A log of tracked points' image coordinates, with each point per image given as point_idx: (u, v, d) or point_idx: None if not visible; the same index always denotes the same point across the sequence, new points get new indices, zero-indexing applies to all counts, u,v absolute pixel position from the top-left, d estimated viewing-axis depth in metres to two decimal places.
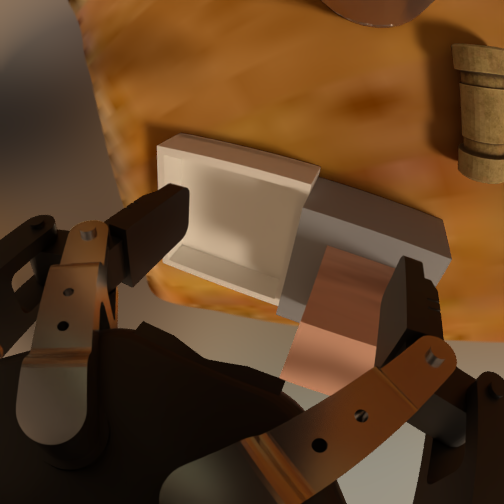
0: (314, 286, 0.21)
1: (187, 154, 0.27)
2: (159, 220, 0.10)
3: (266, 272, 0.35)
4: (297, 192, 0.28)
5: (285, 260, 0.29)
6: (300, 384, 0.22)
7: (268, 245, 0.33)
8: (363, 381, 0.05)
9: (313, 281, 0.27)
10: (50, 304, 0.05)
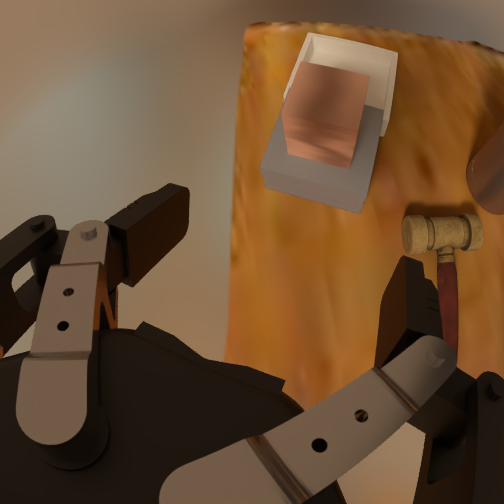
0: None
1: (395, 65, 0.37)
2: (159, 220, 0.10)
3: None
4: None
5: None
6: (298, 72, 0.28)
7: None
8: (363, 381, 0.05)
9: None
10: (50, 304, 0.05)
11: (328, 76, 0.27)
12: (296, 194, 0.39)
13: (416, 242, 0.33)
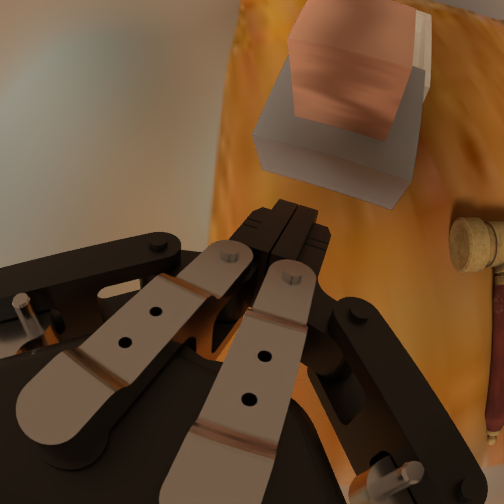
0: None
1: (429, 27, 0.25)
2: None
3: None
4: None
5: None
6: None
7: None
8: (246, 327, 0.06)
9: None
10: (130, 313, 0.06)
11: (357, 1, 0.15)
12: (304, 178, 0.27)
13: (475, 255, 0.21)
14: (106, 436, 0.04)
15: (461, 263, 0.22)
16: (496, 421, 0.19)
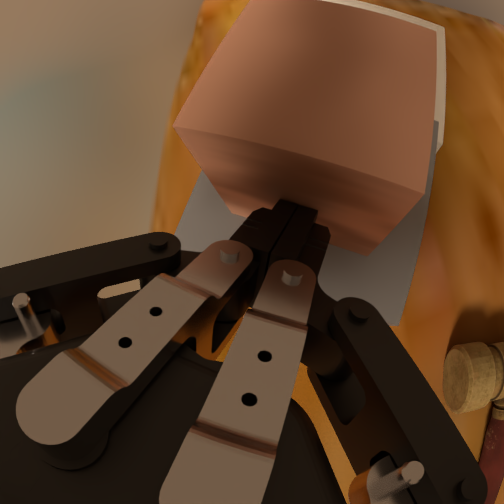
0: None
1: (443, 46, 0.19)
2: None
3: None
4: None
5: None
6: (245, 14, 0.09)
7: None
8: (246, 327, 0.06)
9: None
10: (130, 313, 0.06)
11: (327, 21, 0.09)
12: None
13: (472, 404, 0.14)
14: (106, 436, 0.04)
15: (453, 403, 0.16)
16: None
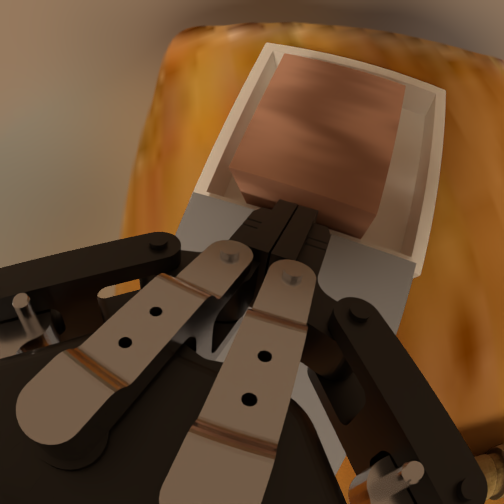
0: None
1: (441, 121, 0.18)
2: None
3: (233, 183, 0.22)
4: None
5: None
6: None
7: None
8: (246, 327, 0.06)
9: None
10: (130, 313, 0.06)
11: None
12: None
13: None
14: (106, 436, 0.04)
15: None
16: None
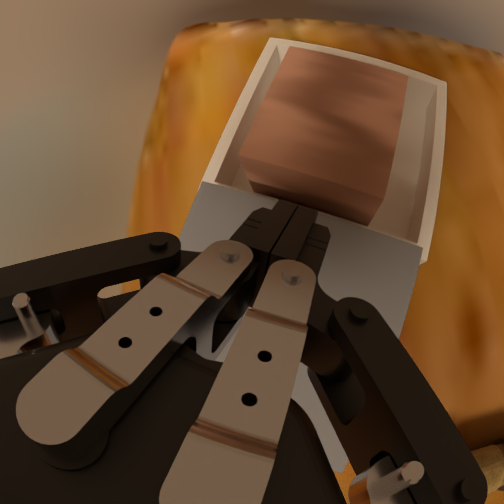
0: None
1: (443, 112, 0.18)
2: None
3: (240, 175, 0.22)
4: None
5: None
6: None
7: None
8: (246, 327, 0.06)
9: None
10: (130, 313, 0.06)
11: None
12: None
13: None
14: (106, 436, 0.04)
15: None
16: None
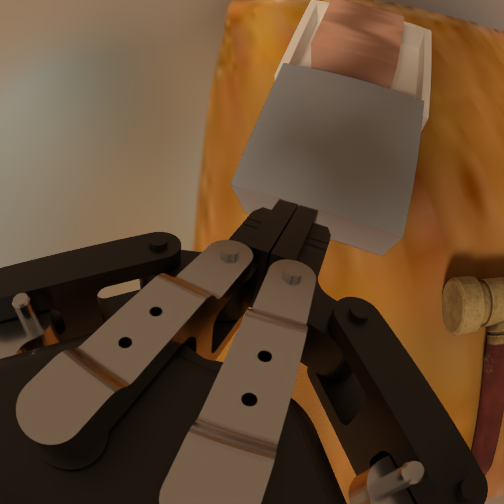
0: None
1: (429, 45, 0.24)
2: None
3: None
4: None
5: None
6: None
7: None
8: (246, 327, 0.06)
9: (342, 96, 0.22)
10: (130, 313, 0.06)
11: None
12: None
13: (467, 322, 0.19)
14: (106, 436, 0.04)
15: (452, 326, 0.21)
16: None
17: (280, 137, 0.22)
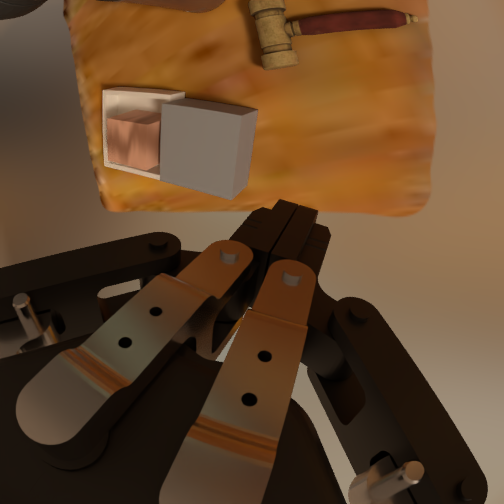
0: None
1: (116, 92, 0.44)
2: None
3: None
4: None
5: None
6: None
7: None
8: (246, 327, 0.06)
9: (173, 149, 0.44)
10: (130, 313, 0.06)
11: None
12: (248, 163, 0.47)
13: (286, 61, 0.34)
14: (106, 436, 0.04)
15: (292, 65, 0.36)
16: (397, 21, 0.28)
17: (203, 178, 0.44)
